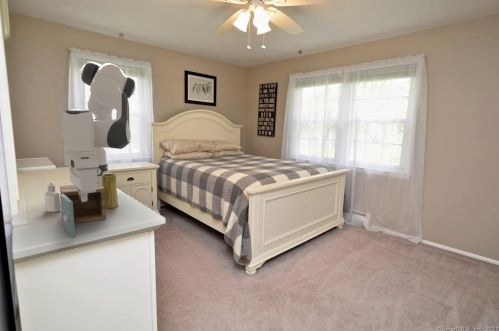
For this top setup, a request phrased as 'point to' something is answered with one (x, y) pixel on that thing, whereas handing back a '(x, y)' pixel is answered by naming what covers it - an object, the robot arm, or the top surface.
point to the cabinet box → (86, 204)
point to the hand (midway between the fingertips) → (83, 200)
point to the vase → (110, 190)
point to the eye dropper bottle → (52, 199)
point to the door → (67, 214)
